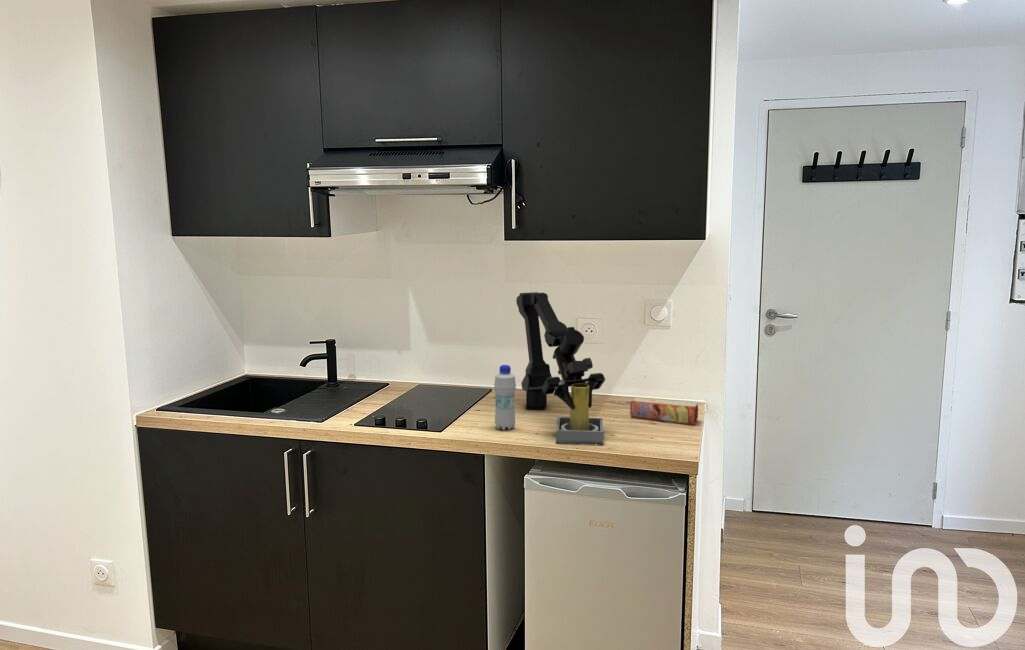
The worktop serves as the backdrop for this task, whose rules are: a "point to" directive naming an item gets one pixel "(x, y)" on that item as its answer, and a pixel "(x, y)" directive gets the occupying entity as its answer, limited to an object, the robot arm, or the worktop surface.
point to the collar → (591, 427)
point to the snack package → (664, 410)
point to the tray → (579, 433)
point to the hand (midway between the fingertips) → (581, 408)
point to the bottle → (505, 398)
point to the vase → (580, 407)
